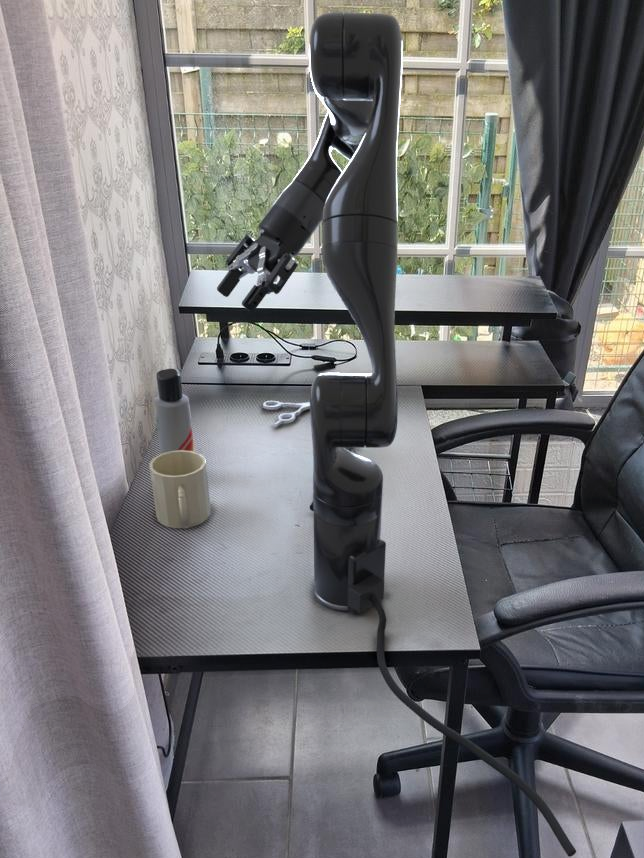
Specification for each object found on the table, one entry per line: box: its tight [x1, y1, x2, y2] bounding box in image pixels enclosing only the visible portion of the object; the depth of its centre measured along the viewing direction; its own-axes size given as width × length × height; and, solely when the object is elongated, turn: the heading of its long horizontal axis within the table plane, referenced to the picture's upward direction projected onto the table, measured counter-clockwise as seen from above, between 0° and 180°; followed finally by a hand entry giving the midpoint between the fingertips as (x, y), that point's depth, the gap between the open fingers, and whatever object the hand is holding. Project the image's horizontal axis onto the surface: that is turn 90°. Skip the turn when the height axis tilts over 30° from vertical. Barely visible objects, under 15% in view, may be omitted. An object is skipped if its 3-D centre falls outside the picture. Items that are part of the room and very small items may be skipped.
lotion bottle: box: [153, 368, 195, 455], centre depth 134 cm, size 6×6×20 cm
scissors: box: [262, 400, 310, 428], centre depth 165 cm, size 11×1×20 cm
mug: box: [148, 450, 211, 529], centre depth 126 cm, size 12×9×10 cm
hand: (233, 301), depth 127 cm, fingers open, 8 cm apart
